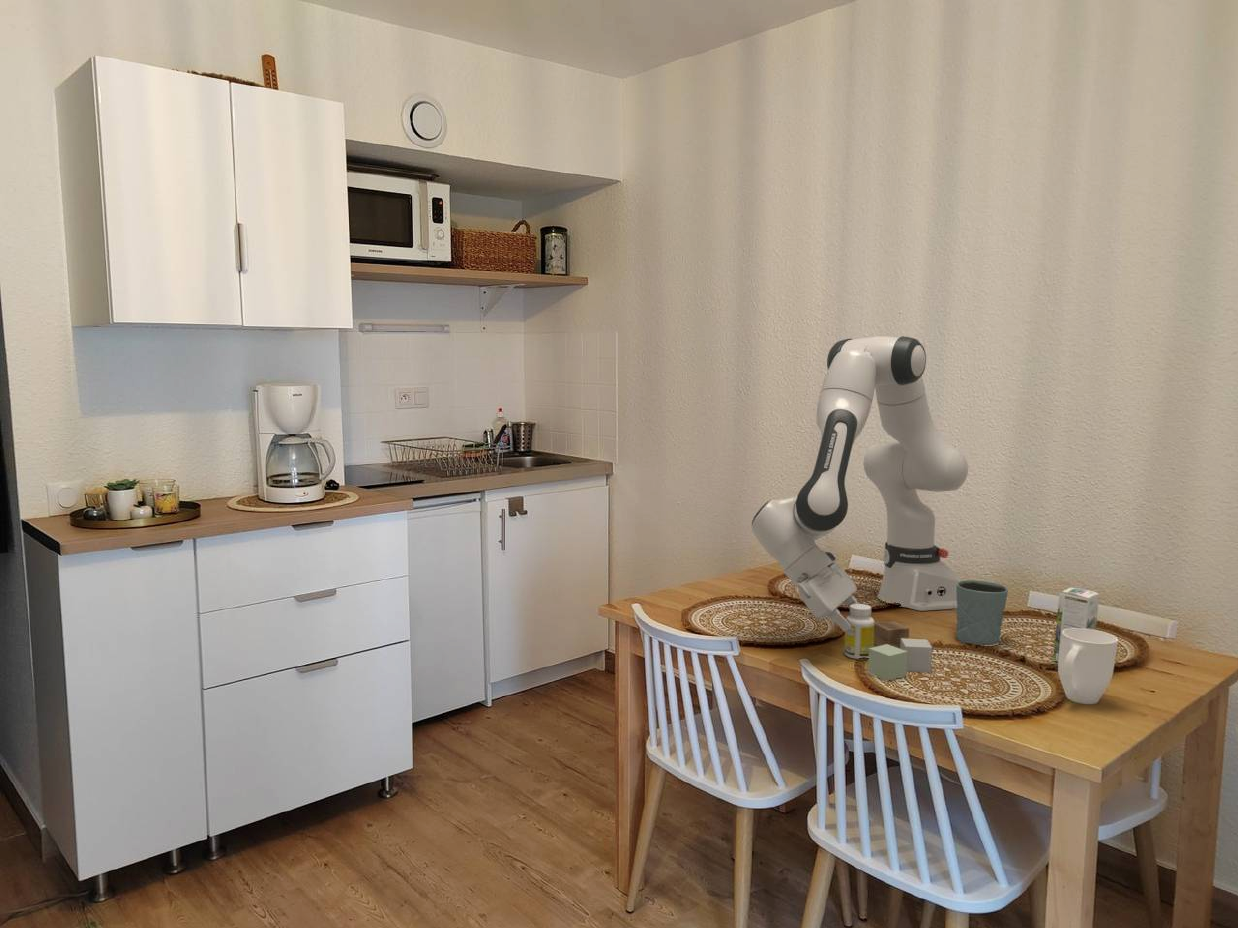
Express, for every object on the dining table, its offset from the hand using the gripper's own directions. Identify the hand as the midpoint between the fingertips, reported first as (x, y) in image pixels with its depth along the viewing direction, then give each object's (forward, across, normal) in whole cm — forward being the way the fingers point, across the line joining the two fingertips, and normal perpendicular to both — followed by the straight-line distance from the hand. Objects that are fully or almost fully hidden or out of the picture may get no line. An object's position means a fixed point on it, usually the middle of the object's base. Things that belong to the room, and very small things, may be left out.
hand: (855, 623), depth 183 cm
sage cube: (+11, -8, -1) cm, 14 cm away
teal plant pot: (+19, +23, -10) cm, 32 cm away
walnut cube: (+9, +8, +1) cm, 12 cm away
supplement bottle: (+6, 0, +4) cm, 7 cm away
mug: (+34, -4, -24) cm, 42 cm away
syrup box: (+32, +18, -23) cm, 44 cm away
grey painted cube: (+13, -1, -4) cm, 14 cm away
